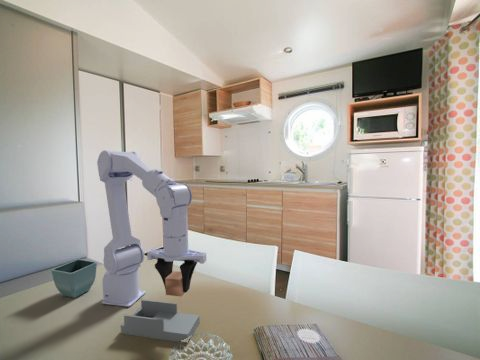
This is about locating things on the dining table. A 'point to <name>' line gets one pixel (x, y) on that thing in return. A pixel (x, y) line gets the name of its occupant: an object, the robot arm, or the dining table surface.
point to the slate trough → (160, 322)
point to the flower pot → (74, 277)
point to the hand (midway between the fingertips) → (177, 289)
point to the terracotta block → (174, 284)
